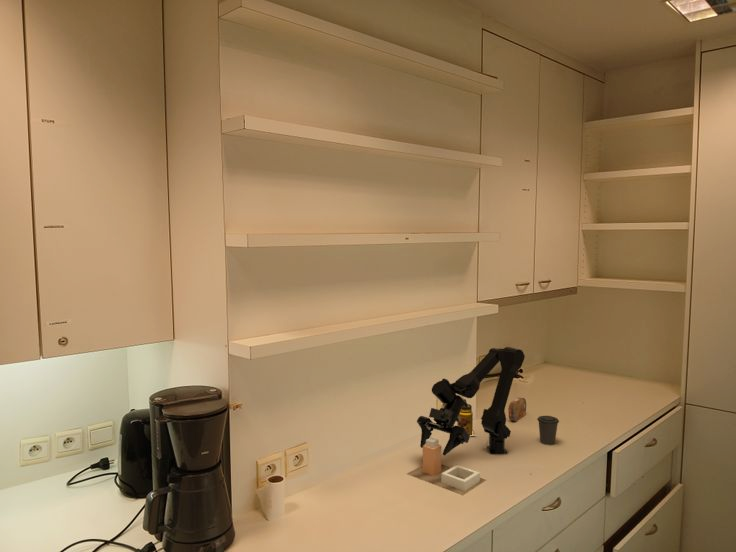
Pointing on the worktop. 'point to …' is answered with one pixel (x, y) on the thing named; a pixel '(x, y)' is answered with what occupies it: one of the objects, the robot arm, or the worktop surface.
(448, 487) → the board
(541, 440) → the coffee cup
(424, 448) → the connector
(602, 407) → the worktop surface
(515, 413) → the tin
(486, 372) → the robot arm
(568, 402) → the worktop surface
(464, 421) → the condiment
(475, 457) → the worktop surface
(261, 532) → the worktop surface
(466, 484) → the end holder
